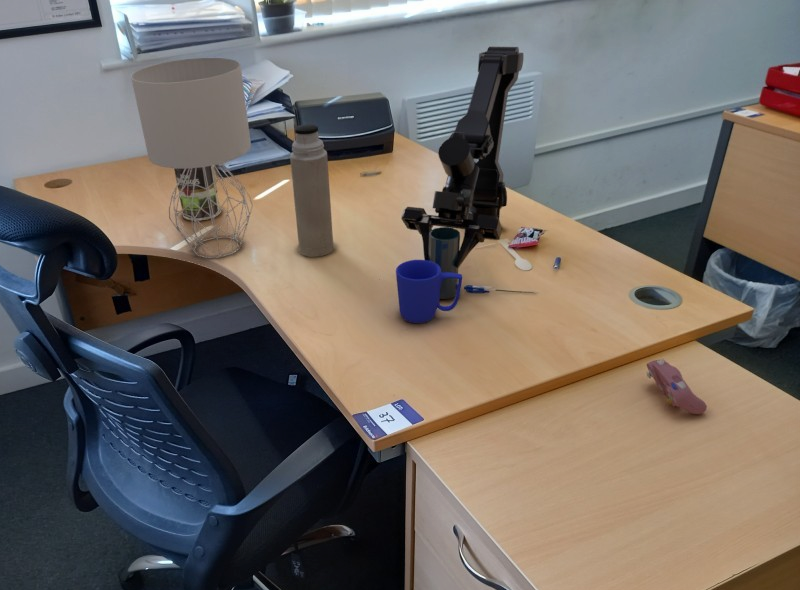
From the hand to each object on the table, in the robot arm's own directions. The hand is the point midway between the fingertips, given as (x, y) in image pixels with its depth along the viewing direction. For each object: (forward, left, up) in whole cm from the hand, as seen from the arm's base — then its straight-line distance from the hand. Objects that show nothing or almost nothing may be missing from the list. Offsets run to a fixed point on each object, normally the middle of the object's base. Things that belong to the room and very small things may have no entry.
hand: (441, 264), depth 132 cm
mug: (+6, +6, -7) cm, 11 cm away
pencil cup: (-1, -1, -7) cm, 7 cm away
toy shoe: (-17, +44, -7) cm, 47 cm away
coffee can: (+35, -67, -7) cm, 76 cm away
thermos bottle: (+15, -32, -7) cm, 36 cm away
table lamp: (+36, -44, -7) cm, 58 cm away
